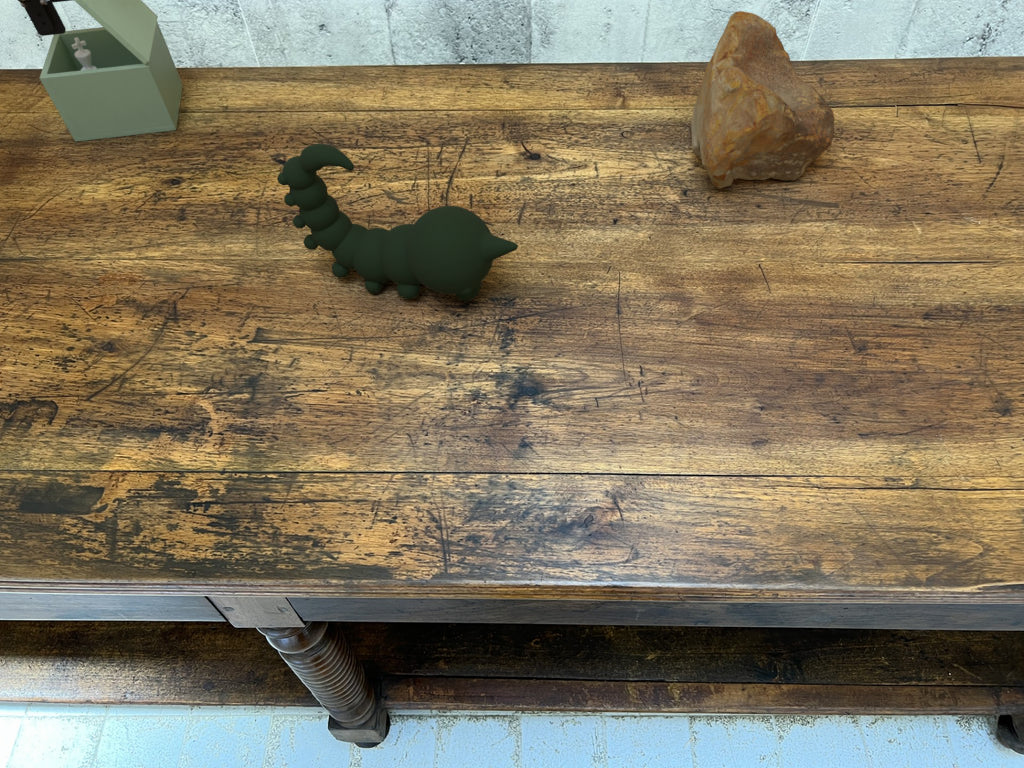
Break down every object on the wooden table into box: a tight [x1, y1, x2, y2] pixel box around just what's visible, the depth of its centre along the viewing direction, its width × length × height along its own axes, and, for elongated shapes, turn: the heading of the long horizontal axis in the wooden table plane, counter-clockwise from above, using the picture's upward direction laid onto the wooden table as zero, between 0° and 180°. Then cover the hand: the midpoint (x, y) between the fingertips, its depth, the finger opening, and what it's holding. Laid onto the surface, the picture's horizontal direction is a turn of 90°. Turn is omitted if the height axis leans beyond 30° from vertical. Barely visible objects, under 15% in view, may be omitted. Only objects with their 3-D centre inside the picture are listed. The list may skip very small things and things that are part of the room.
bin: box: [39, 21, 184, 143], centre depth 111 cm, size 14×11×10 cm
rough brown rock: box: [690, 10, 835, 189], centre depth 100 cm, size 23×17×15 cm
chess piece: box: [72, 38, 97, 70], centre depth 110 cm, size 5×5×10 cm
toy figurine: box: [276, 143, 519, 302], centre depth 87 cm, size 9×19×25 cm
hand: (58, 15), depth 103 cm, fingers open, 7 cm apart
